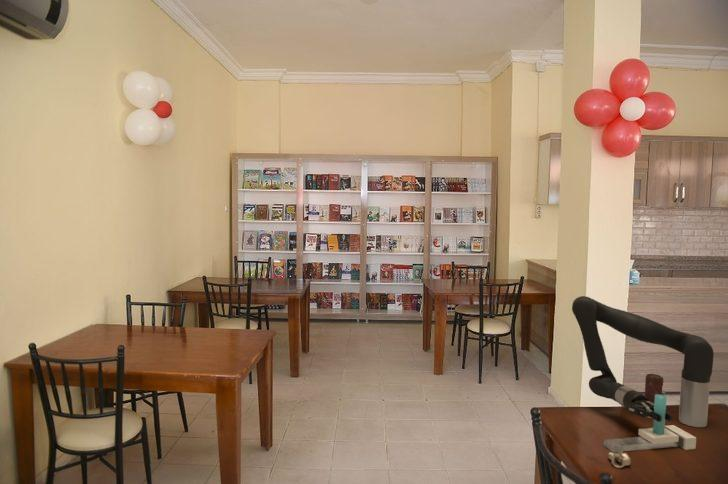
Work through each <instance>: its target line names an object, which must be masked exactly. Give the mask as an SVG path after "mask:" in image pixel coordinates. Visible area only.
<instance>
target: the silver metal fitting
mask: <svg viewBox="0 0 728 484" xmlns="http://www.w3.org/2000/svg"><path fill="white" fill-rule="evenodd" d="M607 457H608V458H609V459H610V461H611V464H612V465H613V467H615V468H616V469H622V468H625V466H630V465H631V462H632V461H631V457H630V456H629V455H628V453H627V452H625V451H624V450H621V451H619V452H612V451H611V452H610V451H609V452H608V453H607Z"/></svg>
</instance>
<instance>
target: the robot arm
mask: <svg viewBox="0 0 728 484" xmlns="http://www.w3.org/2000/svg"><path fill="white" fill-rule="evenodd" d="M571 311H572V313H573V315H574V318H575V319H576V321H577V324H578V326H579V329H580V331H581V332H580V333H581V335H582V339H583V340H582V341H583V344H584V351H585V354H586V359H587V363H588V367H589V369H590V370H591V371H594V372H601V374H600V375H597V376H593V377H591V378H590V379H589V380H588V381H589V382H588V387H589V389H590V391H591V392H592V393H593V394H595V395H596V396H598V397H602V398H606V399H610V400H613V401H614V402H616V403H617V404H619V405H621V407H623V408H625V409H627V410H628V412H629V413H630V414H632V415H633V414H634V415H635V416H639V417H641V418H649V419H655V420H656V421H658V422H661V419H662V417H661V415H659V414H657V413H655V412H654V403H652V402H649V401H648V399H647V398H646V396H645V394H643V393H642V392H639V391H637V390H635V389H633V388H632V387H628V386H626V385H624V384H622V383H619V382H617V379H616V377H615V375H614V374H613V373H614V372H612V370H611V367H610V366H609V364H608V361H607V356H606V353H605V349H604V345H603V342H602V340H601V337H600V333H599V330H598V324H597V322H599V323H602V324H604V325H607V326H608V327H610V328H612V329H614V330H615V331H617V332H619V333H621V334H623V335H625V336H626V337H630V338H632V339H634V340H637V341H640V342H643V343H646V344H652V345H653V344H654V345H660V346H665V347H667V348H670V349H673V350H675V351H678V352H679V353H681V354H682V355H684V356H683V357H684V358H683V367H682V369H681V374H680V375H681V377H680V391H679V393H680V395H679V410H678V421H679V422H680V423H681V424H684V425H686V426H689V427H695V428H705V427H707V426H708V414H709V402H710V401H709V400H710V399H709V398H710V387H711V386H710V385H711V377H712V374H713V369H714V367H713V366H714V356H715V355H714V348H713V347H712V345H711V344H710V343H709V342H708V341H707V340H706V339H705V338H704V337H702V336H699V335H695V334H691V333H687V332H683V331H680V330H677V329H673V328H671V327H669V326H667V325H665V324H661V323H659V322H656V321H654V320H652V319H649V318H647V317H644V316H641V315H638V314H635V313H632V312H629V311H626V310H623V309H619V308H614V307H611V306H609V305H606V304H605V303H602V302H600V301H597V300H596V299H594V298H591V297H589V296H586V295H584V296H583V295H582V296H578V297H576V298H575V299H574V300H573V302H572V305H571ZM668 411H669V409H668V408H667V407H666V414H665V421H666V420H667V421H668V422H672V420H673V415H672V414H670V413H669V412H668Z"/></svg>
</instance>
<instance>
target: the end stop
mask: <svg viewBox="0 0 728 484" xmlns="http://www.w3.org/2000/svg"><path fill="white" fill-rule="evenodd" d="M665 428H666V429H667V430H669V431H671V432H673V433H674V434H676V435H678V436H679V440H678V441H679V443H678V447H680V448H682V449H683V450H685V451H689V450H697V449H696V448H697V447H696V446H697V437H696V436H695V435H692V434H691V433H689V432H687V431H685V430H683V429H682V428H680V427H678V426H676V425H674V424H671V425H670V424H669V425H665Z"/></svg>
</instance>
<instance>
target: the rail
mask: <svg viewBox="0 0 728 484" xmlns="http://www.w3.org/2000/svg"><path fill="white" fill-rule="evenodd" d="M678 443H679V441H678V442H669V443H657V444H652V443H651V442H649V441H648V440H646V439H645V438H643V437H641V436H634V437H632V436H631V437H622V438H609V439H603V446H604V447H605V448H606V449H608V450H609V451H611V452H613V453H614V452H615V453H618V452H619V451H621V450H624V452H629V451H641V450H644V451H645V450H652V449H653V450H655V449H663V448H666V449H667V448H679V446H678Z"/></svg>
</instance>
